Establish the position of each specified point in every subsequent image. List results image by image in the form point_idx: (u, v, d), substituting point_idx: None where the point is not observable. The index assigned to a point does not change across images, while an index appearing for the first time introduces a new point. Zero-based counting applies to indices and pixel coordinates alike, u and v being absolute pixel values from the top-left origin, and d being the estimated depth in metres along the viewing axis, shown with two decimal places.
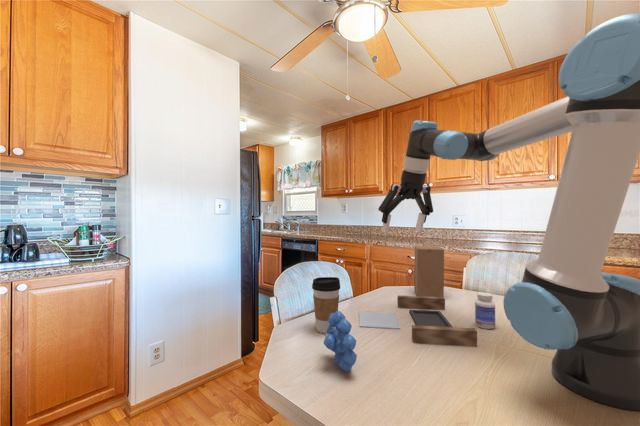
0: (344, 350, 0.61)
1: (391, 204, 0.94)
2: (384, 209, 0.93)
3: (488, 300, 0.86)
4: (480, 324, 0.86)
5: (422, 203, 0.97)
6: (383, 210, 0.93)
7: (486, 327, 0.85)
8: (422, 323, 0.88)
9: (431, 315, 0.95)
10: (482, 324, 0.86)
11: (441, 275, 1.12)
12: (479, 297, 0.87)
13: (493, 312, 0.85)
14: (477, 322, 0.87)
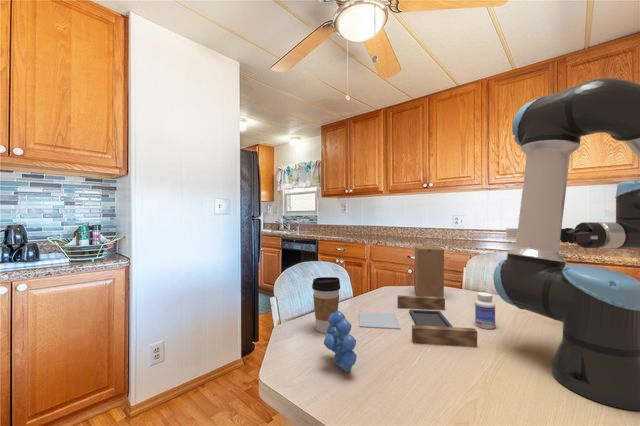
0: (344, 350, 0.61)
1: None
2: None
3: (488, 300, 0.86)
4: (480, 324, 0.86)
5: (570, 232, 0.80)
6: None
7: (486, 327, 0.85)
8: (422, 323, 0.88)
9: (431, 315, 0.95)
10: (482, 324, 0.86)
11: (441, 275, 1.12)
12: (479, 297, 0.87)
13: (493, 312, 0.85)
14: (477, 322, 0.87)
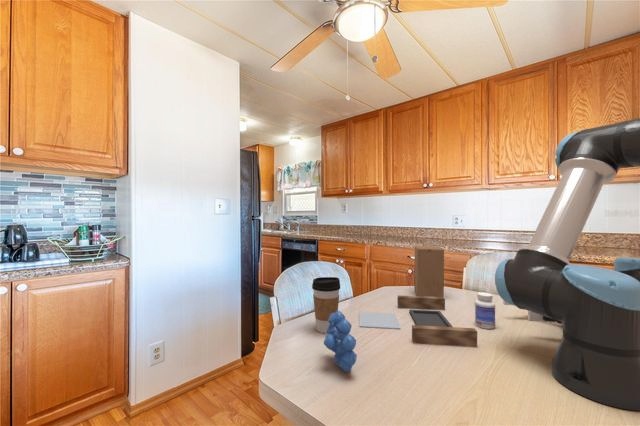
0: (344, 350, 0.61)
1: None
2: None
3: (488, 300, 0.86)
4: (480, 324, 0.86)
5: None
6: None
7: (486, 327, 0.85)
8: (422, 323, 0.88)
9: (431, 315, 0.95)
10: (482, 324, 0.86)
11: (441, 275, 1.12)
12: (479, 297, 0.87)
13: (493, 312, 0.85)
14: (477, 322, 0.87)
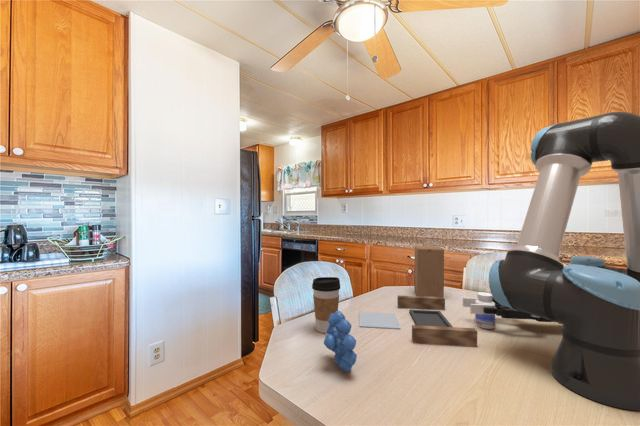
0: (344, 350, 0.61)
1: None
2: None
3: (488, 300, 0.86)
4: (480, 324, 0.86)
5: None
6: None
7: (486, 327, 0.85)
8: (422, 323, 0.88)
9: (431, 315, 0.95)
10: (482, 324, 0.86)
11: (441, 275, 1.12)
12: (479, 297, 0.87)
13: None
14: (477, 322, 0.87)
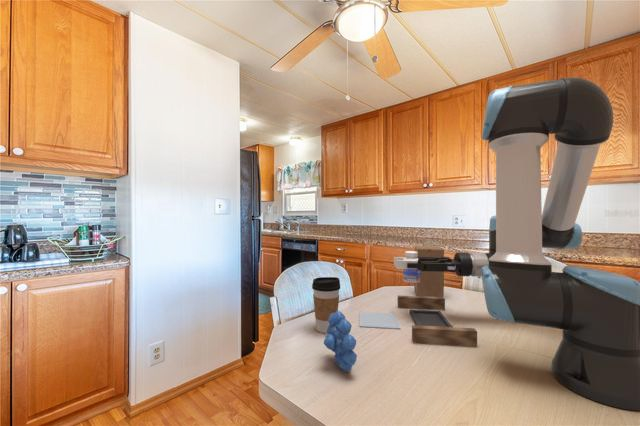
0: (344, 350, 0.61)
1: None
2: None
3: (412, 257, 0.93)
4: (406, 279, 0.93)
5: (433, 261, 0.91)
6: None
7: (410, 281, 0.92)
8: (422, 323, 0.88)
9: (431, 315, 0.95)
10: (407, 279, 0.93)
11: (441, 275, 1.12)
12: (405, 254, 0.94)
13: None
14: (404, 278, 0.94)
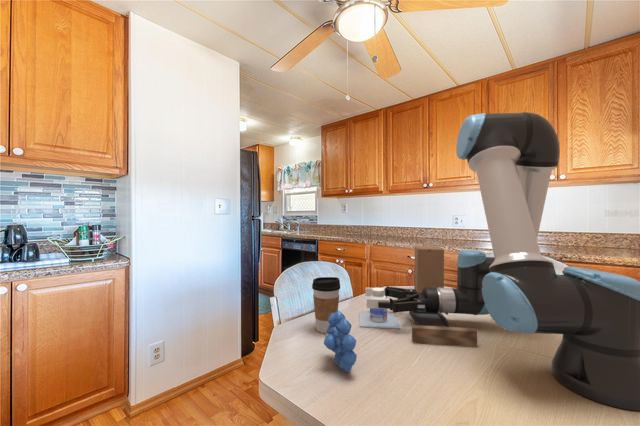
0: (344, 350, 0.61)
1: None
2: (389, 287, 0.99)
3: (379, 295, 0.90)
4: (372, 318, 0.90)
5: (403, 299, 0.86)
6: (388, 286, 1.00)
7: (376, 320, 0.89)
8: (422, 323, 0.88)
9: (431, 315, 0.95)
10: (373, 318, 0.90)
11: (441, 275, 1.12)
12: (372, 292, 0.91)
13: None
14: (370, 316, 0.91)
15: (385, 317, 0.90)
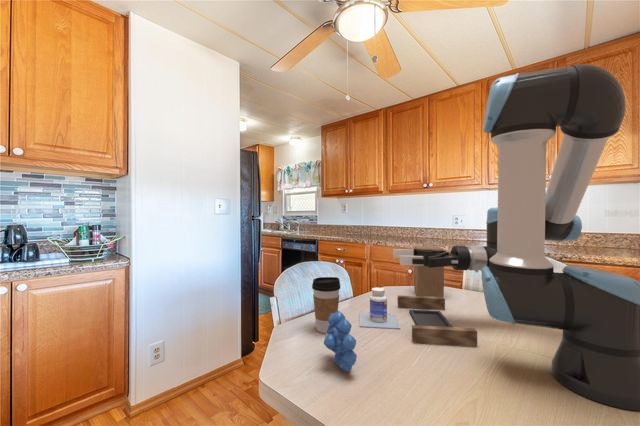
0: (344, 350, 0.61)
1: None
2: (417, 249, 0.99)
3: (379, 295, 0.90)
4: (372, 318, 0.90)
5: (435, 256, 0.85)
6: (416, 249, 1.00)
7: (376, 320, 0.89)
8: (422, 323, 0.88)
9: (431, 315, 0.95)
10: (373, 318, 0.90)
11: (441, 275, 1.12)
12: (372, 292, 0.91)
13: (383, 306, 0.89)
14: (370, 316, 0.91)
15: (385, 317, 0.90)
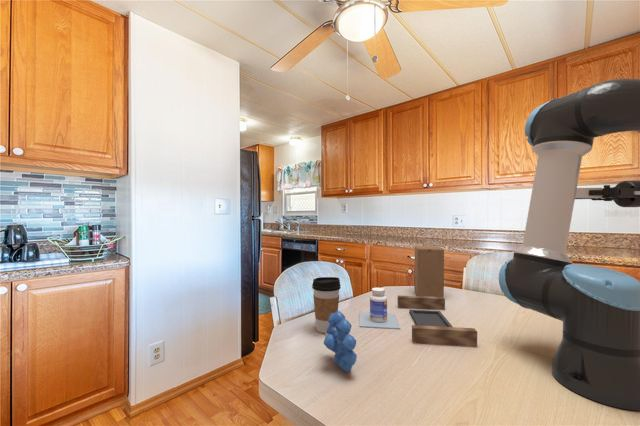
0: (344, 350, 0.61)
1: None
2: None
3: (379, 295, 0.90)
4: (372, 318, 0.90)
5: None
6: None
7: (376, 320, 0.89)
8: (422, 323, 0.88)
9: (431, 315, 0.95)
10: (373, 318, 0.90)
11: (441, 275, 1.12)
12: (372, 292, 0.91)
13: (383, 306, 0.89)
14: (370, 316, 0.91)
15: (385, 317, 0.90)
